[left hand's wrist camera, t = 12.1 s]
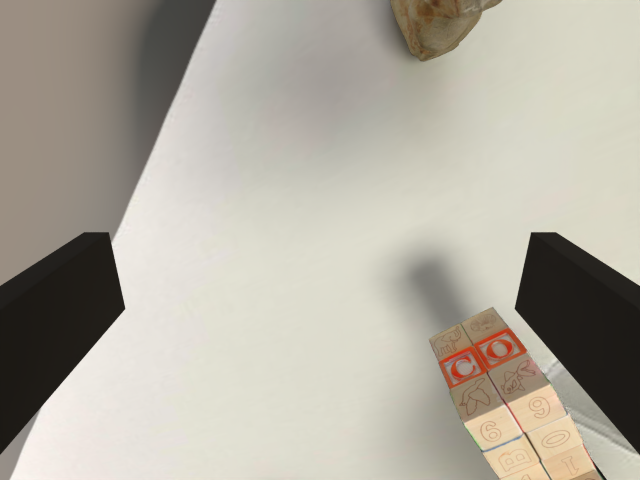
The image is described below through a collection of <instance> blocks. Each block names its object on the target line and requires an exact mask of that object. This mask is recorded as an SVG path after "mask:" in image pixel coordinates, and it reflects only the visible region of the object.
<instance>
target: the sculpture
mask: <svg viewBox="0 0 640 480" xmlns="http://www.w3.org/2000/svg"><path fill="white" fill-rule="evenodd" d="M501 1H502V0H390V2H391V6H392V10H393V13H394V15H395V18H396V20H397V23H398V25H399V27H400V29H401V31H402V33H403V35H404V37H405V39H406V42H407V45H408V47H409V50H410V52H411V54H412V55H414V56H416V57H417V58H418V59H419V60H420V61H427V60H430V59H433V58H436V57H438V56H440V55H443V54H445V53H447V52H449V51H452V50H453V49H455V48H456V47H457V46H458V45H459V42H460V41H462V40H463V39H464V38H465V37H466V36H467V34H468V33H469V32H470V31H471V30H472V28H473V27H474V26H475V25H476V24H477V22H478V21H479V19H480V17H481V15H482V12H483V11H485V10H487V9H489V8H491V7H494V6H496V5H497V4H499V3H500V2H501Z"/></svg>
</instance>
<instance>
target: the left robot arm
mask: <svg viewBox="0 0 640 480" xmlns="http://www.w3.org/2000/svg"><path fill="white" fill-rule="evenodd" d="M124 310H125V305H124V300H123V296H122V291H121V287H120V282H119V277H118V273H117V268H116V263H115V259H114V254H113V250H112V245H111V240H110V236H109V233H108V232H84V233H83V234H81V235H79V236H78V237H76V238H75V239H73V240H72V241H70V242H68V243H67V244H65V245H64V246H62V247H60V248H59V249H57V250H56V251H54V252H53V253H51V254H50V255H48V256H46V257H45V258H43V259H42V260H40V261H39V262H37V263H36V264H34V265H32V266H31V267H29V268H28V269H26V270H24V271H23V272H21V273H20V274H18V275H17V276H15V277H14V278H12V279H10V280H9V281H7V282H6V283H4V284H3V285H1V286H0V454H1V453H2V452H3V451H4V450H5V449H6V447H7V446H8V445H9V444H10V443H11V442H12V440H13V439H14V438H15V437H16V436H17V435H18V433H19V432H20V431H21V430H22V429H23V428H24V426H25V425H26V424H27V423H28V422H29V421H30V419H31V418H32V417H33V416H34V415H35V414H36V412H37V411H38V410H39V409H40V408H41V407H42V405H43V404H44V403H45V402H46V401H47V400H48V398H49V397H50V396H51V395H52V394H53V393H54V391H55V390H56V389H57V388H58V387H59V386H60V384H61V383H62V382H63V381H64V380H65V379H66V377H67V376H68V375H69V374H70V373H71V372H72V370H73V369H74V368H75V367H76V366H77V365H78V363H79V362H80V361H81V360H82V359H83V358H84V356H85V355H86V354H87V353H88V352H89V351H90V349H91V348H92V347H93V346H94V345H95V344H96V342H97V341H98V340H99V339H100V338H101V337H102V335H103V334H104V333H105V332H106V331H107V330H108V328H109V327H110V326H111V325H112V324H113V323H114V321H115V320H116V319H117V318H118V317H119V316H120V314H121V313H122V312H123V311H124ZM515 310H516V311H517V312H518V313H519V314H520V316H521V317H522V318H523V319H524V320H525V321H526V323H527V324H528V325H529V326H530V327H531V328H532V330H533V331H534V332H535V333H536V334H537V335H538V337H539V338H540V339H541V340H542V341H543V342H544V344H545V345H546V346H547V347H548V348H549V349H550V351H551V352H552V353H553V354H554V355H555V356H556V358H557V359H558V360H559V361H560V362H561V363H562V365H563V366H564V367H565V368H566V369H567V370H568V372H569V373H570V374H571V375H572V376H573V377H574V379H575V380H576V381H577V382H578V383H579V384H580V386H581V387H582V388H583V389H584V390H585V391H586V393H587V394H588V395H589V396H590V397H591V398H592V400H593V401H594V402H595V403H596V404H597V405H598V407H599V408H600V409H601V410H602V411H603V412H604V414H605V415H606V416H607V417H608V418H609V419H610V421H611V422H612V423H613V424H614V425H615V426H616V428H617V429H618V430H619V431H620V432H621V433H622V435H623V436H624V437H625V438H626V439H627V440H628V442H629V443H630V444H631V445H632V446H633V447H634V449H635V450H636V451H637V452H638V453H639V454H640V286H639V285H637V284H636V283H634V282H633V281H631V280H630V279H628V278H626V277H625V276H623V275H622V274H620V273H619V272H617V271H616V270H614V269H612V268H611V267H609V266H608V265H606V264H605V263H603V262H601V261H600V260H598V259H597V258H595V257H594V256H592V255H590V254H589V253H587V252H586V251H584V250H583V249H581V248H580V247H578V246H576V245H575V244H573V243H572V242H570V241H569V240H567V239H565V238H564V237H562V236H561V235H559V234H558V233H556V232H531V236H530V240H529V245H528V250H527V254H526V259H525V263H524V268H523V273H522V277H521V282H520V287H519V291H518V296H517V300H516V305H515Z"/></svg>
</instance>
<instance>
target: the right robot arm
mask: <svg viewBox="0 0 640 480" xmlns="http://www.w3.org/2000/svg"><path fill="white" fill-rule="evenodd" d="M591 460H592V459H591ZM592 462H593V460H592ZM593 464H594V465H595V467H596V470H597V471H598V473H599V474H600V475H601V477H602V478H603V479H604V480H607V479H606V478H605V477H604V475H603V474H602V473H601V471H600V470H599V469H598V467H597V466H596V464H595V463H594V462H593Z"/></svg>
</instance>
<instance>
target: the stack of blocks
mask: <svg viewBox="0 0 640 480" xmlns="http://www.w3.org/2000/svg"><path fill="white" fill-rule="evenodd" d="M429 341H430V343H431V346H432V349H433V351H434V353H435V355H436V357H437V359H438V361H439V366H440V368H441V370H442V373H443V375H444V377H445V380H446V382H447V384H448V386H449V388H450V395H451V397H452V400H453V402H454V404H455V407H456V409H457V411H458V414H459V416H460V418H461V420H462V422H463V424H464V426H465V428H466V429H467V431H468V432H469V433H470V435H471V436H472V438H473V439H474V441H475V442H476V444H477V445H478V447H479V448H480V449H481V451H482V453H483V455H484V457H485V458H486V460H487V461H488V463H489V464H490V466H491V467H492V468H493V470H494V471H495V473H496V474H497V476H498V477H499V479H500V480H604V479H603V478H602V477H601V475H600V474H599V473H598V471H597V470H596V467H595V465H594V464H593V462H592V460H591V458H590V456H589V454H588V452H587V450H586V448H585V446H584V444H583V439H582V437H581V435H580V433H579V431H578V429H577V427H576V425H575V423H574V421H573V420H572V418H571V416H570V414H569V412H568V411H567V410H566V408H565V407H564V406H563V404H562V403H561V401H560V399H559V397H558V395H557V393H556V391H555V389H554V388H553V386H552V384H551V383H550V381H549V380H548V379H547V378H546V376H545V375H544V373H543V372H542V371H541V370H540V369H539V367H538V366H537V365H536V363H535V362H534V361H533V360H532V358H531V356H530V354H529V352H528V351H527V349H526V348H525V347H524V345H523V344H522V343H521V342H520V340H519V339H518V338H517V336H516V335H515V334H514V333H513V331H512V330H511V329H510V328H509V327H508V325H507V324H506V323H505V322H504V321H503V319H502V318H501V317H500V316H499V314H498V313H497V312H496V310H495V309H494V308H493V307H492V308H489V309H487V310H485V311H483V312H481V313H479V314H477V315H475V316H473V317H471V318H469V319H467V320H465V321H463V322H462V323H460V324H457V325H455V326H453V327H451V328H449V329H447V330H445V331H443V332H441V333H439V334H437V335H435V336H433V337H432V338H430V339H429Z"/></svg>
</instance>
